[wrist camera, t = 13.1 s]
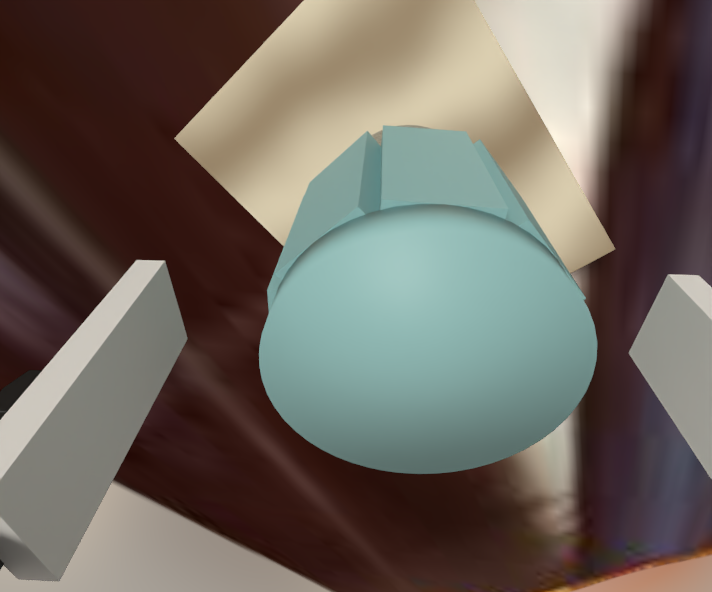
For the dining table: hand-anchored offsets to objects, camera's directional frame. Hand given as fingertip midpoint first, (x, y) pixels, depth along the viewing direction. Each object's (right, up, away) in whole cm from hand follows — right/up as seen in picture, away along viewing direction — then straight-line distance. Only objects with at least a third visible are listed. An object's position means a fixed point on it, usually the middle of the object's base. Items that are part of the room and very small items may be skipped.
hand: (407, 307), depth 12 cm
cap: (0, +2, +4) cm, 5 cm away
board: (+1, +6, +9) cm, 11 cm away
